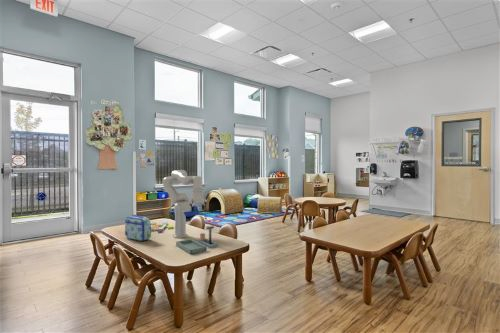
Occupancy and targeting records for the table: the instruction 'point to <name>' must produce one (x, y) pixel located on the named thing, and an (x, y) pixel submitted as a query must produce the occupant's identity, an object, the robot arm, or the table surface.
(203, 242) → the grey elongated block
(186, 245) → the tray
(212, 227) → the stake
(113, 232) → the table surface
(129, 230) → the lunch box
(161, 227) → the pattern blocks set
